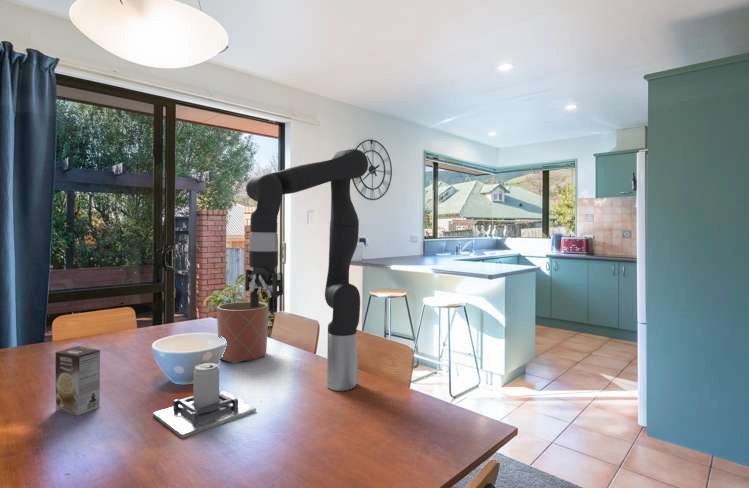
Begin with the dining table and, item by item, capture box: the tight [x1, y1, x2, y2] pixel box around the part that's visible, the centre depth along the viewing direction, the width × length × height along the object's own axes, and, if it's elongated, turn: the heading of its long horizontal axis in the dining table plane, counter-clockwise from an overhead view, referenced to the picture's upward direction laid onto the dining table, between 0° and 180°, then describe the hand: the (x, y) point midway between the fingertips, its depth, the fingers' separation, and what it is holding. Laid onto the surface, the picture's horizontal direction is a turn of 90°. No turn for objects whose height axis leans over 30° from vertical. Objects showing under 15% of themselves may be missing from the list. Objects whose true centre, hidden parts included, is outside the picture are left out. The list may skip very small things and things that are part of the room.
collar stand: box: [153, 390, 257, 439], centre depth 110 cm, size 20×17×4 cm
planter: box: [216, 301, 269, 364], centre depth 161 cm, size 19×19×20 cm
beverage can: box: [192, 362, 220, 414], centre depth 110 cm, size 6×6×12 cm
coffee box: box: [54, 345, 101, 417], centre depth 112 cm, size 9×6×16 cm
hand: (263, 309), depth 111 cm, fingers open, 8 cm apart
